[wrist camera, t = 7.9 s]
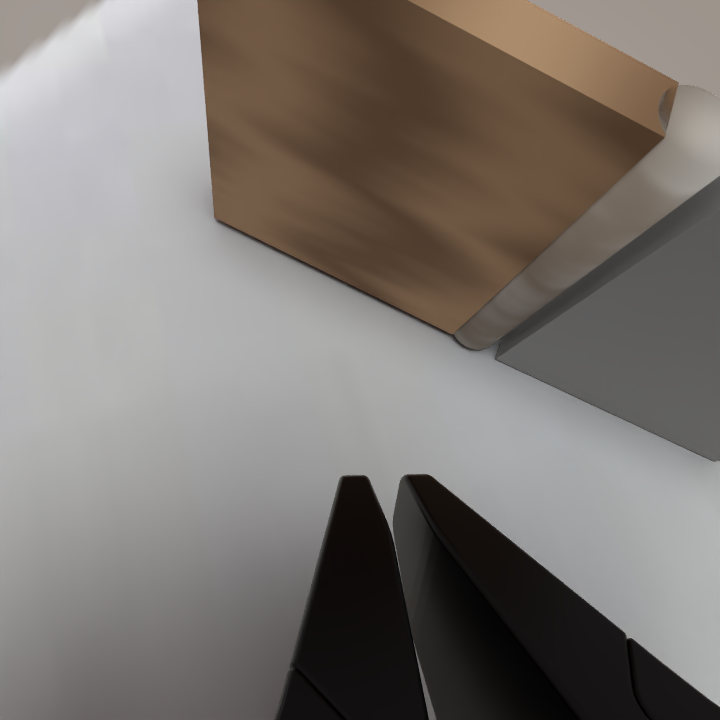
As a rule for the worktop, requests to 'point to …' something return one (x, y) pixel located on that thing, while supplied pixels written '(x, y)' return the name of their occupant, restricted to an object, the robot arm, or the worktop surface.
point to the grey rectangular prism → (641, 330)
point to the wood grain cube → (444, 148)
